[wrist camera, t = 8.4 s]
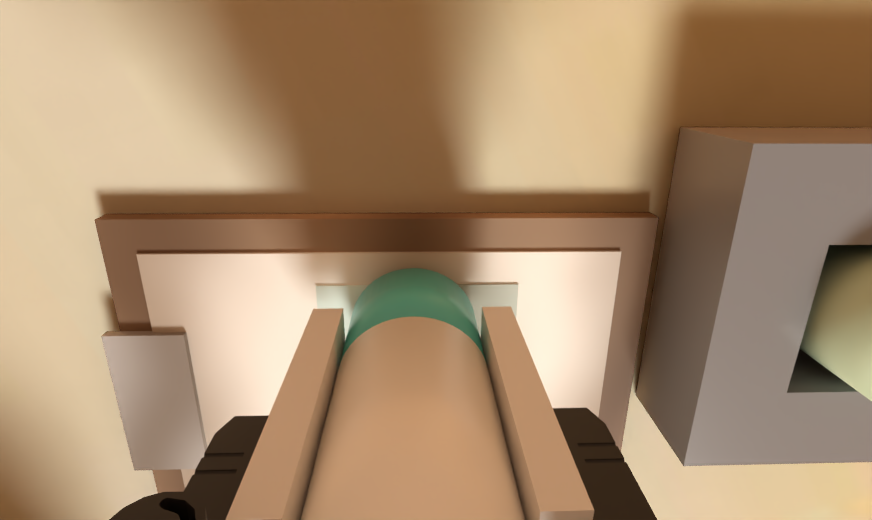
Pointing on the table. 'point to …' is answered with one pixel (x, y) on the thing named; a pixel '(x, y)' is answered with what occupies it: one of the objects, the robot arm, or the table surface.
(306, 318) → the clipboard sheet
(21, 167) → the table surface
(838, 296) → the button
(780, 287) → the button console
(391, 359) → the marker
